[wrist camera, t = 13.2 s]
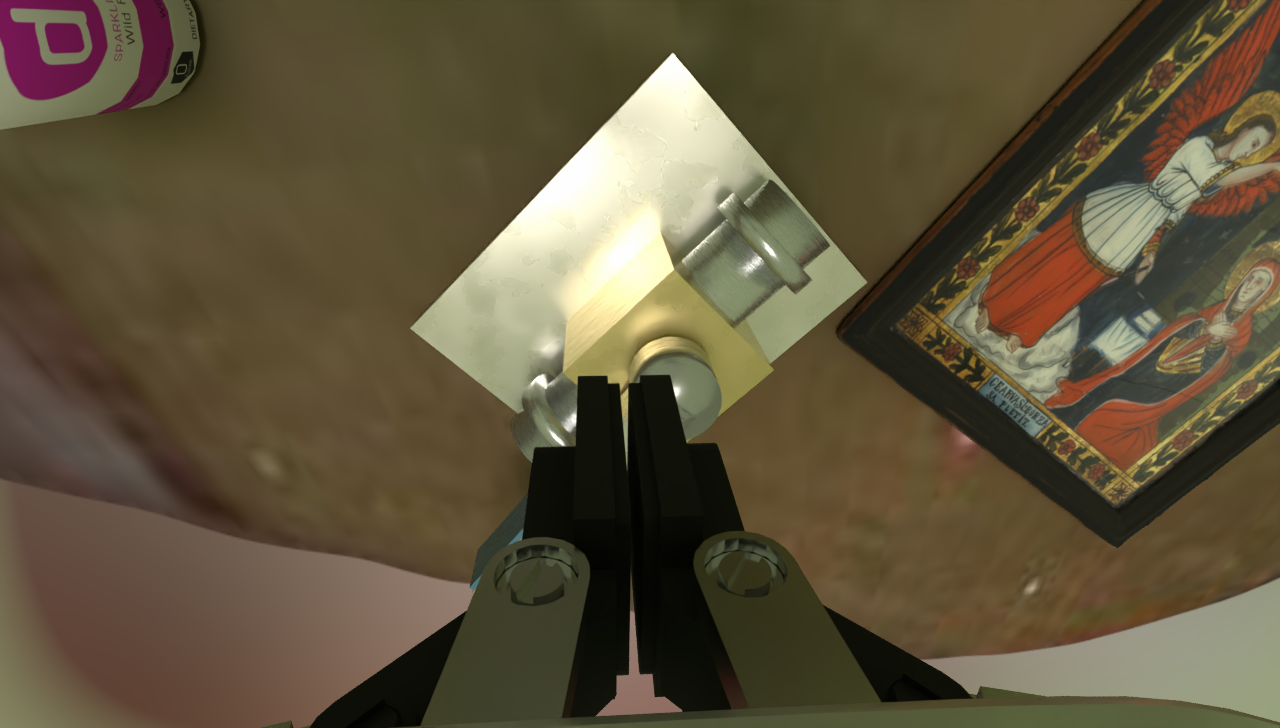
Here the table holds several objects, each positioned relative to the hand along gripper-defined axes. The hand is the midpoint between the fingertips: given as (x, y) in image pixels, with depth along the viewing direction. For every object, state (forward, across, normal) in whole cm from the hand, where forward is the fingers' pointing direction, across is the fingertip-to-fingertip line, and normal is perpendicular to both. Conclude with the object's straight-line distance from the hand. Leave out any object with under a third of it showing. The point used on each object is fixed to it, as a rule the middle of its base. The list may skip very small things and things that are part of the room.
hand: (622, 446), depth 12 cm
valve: (+29, -2, +8) cm, 30 cm away
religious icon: (+30, -38, +6) cm, 49 cm away
